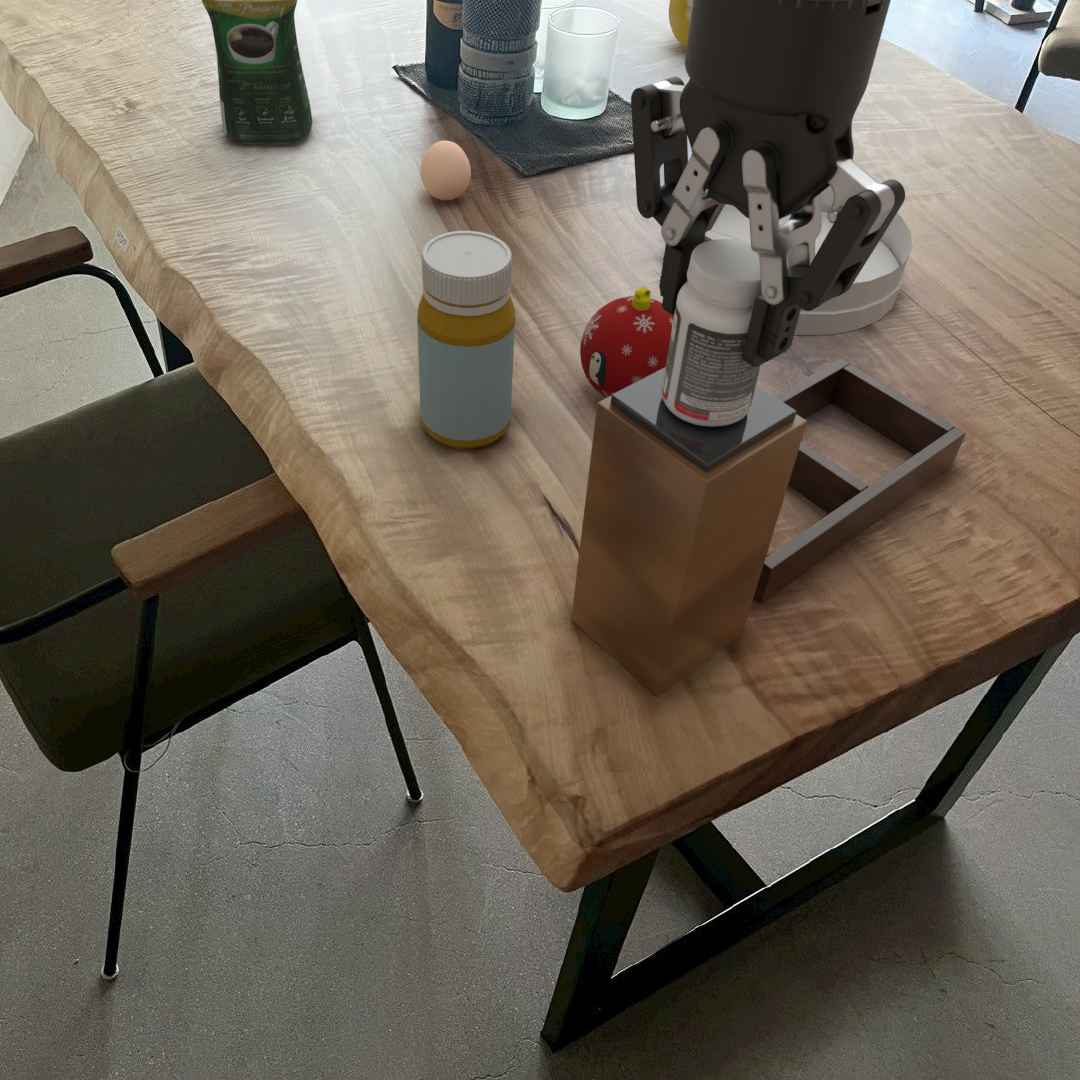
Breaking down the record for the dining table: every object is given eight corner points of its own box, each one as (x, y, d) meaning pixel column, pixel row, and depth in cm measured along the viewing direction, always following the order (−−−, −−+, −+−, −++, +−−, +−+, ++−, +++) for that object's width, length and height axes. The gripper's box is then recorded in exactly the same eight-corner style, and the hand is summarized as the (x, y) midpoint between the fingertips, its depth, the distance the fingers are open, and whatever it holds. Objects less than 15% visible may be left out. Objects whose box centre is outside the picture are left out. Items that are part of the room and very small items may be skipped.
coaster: (794, 419, 56) (797, 410, 55) (706, 473, 52) (708, 464, 52) (698, 357, 59) (700, 348, 59) (610, 403, 56) (611, 394, 55)
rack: (951, 467, 82) (966, 432, 79) (760, 605, 71) (771, 569, 68) (829, 391, 88) (840, 357, 85) (635, 507, 77) (641, 471, 74)
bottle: (412, 403, 84) (405, 232, 73) (496, 391, 85) (502, 222, 75) (432, 459, 79) (428, 286, 68) (521, 445, 81) (530, 274, 70)
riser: (742, 635, 69) (808, 420, 56) (657, 697, 65) (706, 482, 52) (655, 565, 73) (698, 350, 60) (570, 619, 69) (596, 402, 56)
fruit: (648, 48, 139) (658, -34, 132) (693, 29, 145) (705, -51, 138) (711, 71, 135) (726, -12, 128) (755, 50, 141) (771, -31, 134)
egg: (414, 189, 108) (412, 134, 104) (460, 183, 110) (460, 128, 106) (430, 213, 105) (429, 156, 101) (477, 205, 107) (478, 149, 103)
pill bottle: (768, 414, 55) (806, 272, 49) (695, 439, 53) (725, 296, 47) (714, 365, 57) (743, 226, 52) (643, 388, 56) (665, 246, 50)
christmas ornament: (701, 403, 86) (723, 298, 79) (622, 441, 82) (638, 334, 75) (633, 352, 90) (648, 247, 83) (554, 385, 86) (563, 279, 79)
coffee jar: (314, 117, 119) (296, -65, 106) (311, 148, 114) (292, -39, 100) (227, 116, 118) (197, -67, 105) (220, 148, 112) (188, -42, 99)
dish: (930, 260, 104) (946, 214, 101) (848, 365, 91) (864, 316, 87) (729, 192, 112) (738, 147, 108) (627, 279, 98) (633, 231, 95)
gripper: (600, -77, 42) (567, 293, 54) (896, 37, 35) (782, 436, 47) (724, -102, 46) (668, 250, 58) (1016, -4, 38) (881, 375, 50)
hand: (720, 331), depth 52 cm, fingers closed on pill bottle, 4 cm apart
